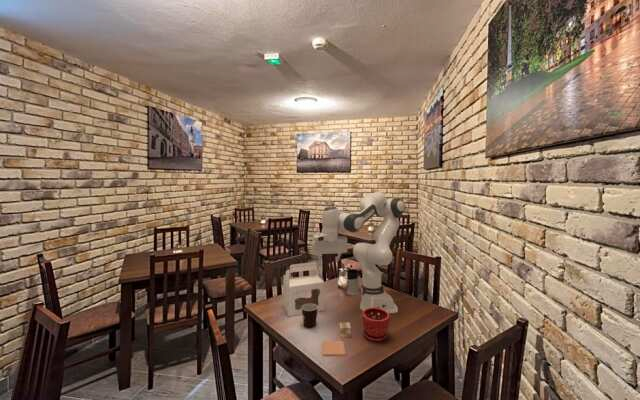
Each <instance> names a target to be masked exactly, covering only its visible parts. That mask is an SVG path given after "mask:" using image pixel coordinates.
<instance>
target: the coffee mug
mask: <svg viewBox="0 0 640 400" xmlns="http://www.w3.org/2000/svg"><path fill="white" fill-rule="evenodd" d="M317 309H318V306H317V305H315V304H305V305H303V306H302V314H301V315H302V320H303V321H302V322H303V327H304V328H305V329H313V328H315V327H316V324H317V316H318V312H317Z"/></svg>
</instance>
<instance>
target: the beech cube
mask: <svg viewBox="0 0 640 400" xmlns="http://www.w3.org/2000/svg"><path fill="white" fill-rule="evenodd" d="M351 330H352V329H351V325H350V322H339V337H340V338H341V339H342V338H351Z"/></svg>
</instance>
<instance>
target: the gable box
mask: <svg viewBox="0 0 640 400" xmlns="http://www.w3.org/2000/svg"><path fill="white" fill-rule="evenodd" d="M321 269H322V268H321V266H318V264H317V262H316V261H312V262H311V261H310V262H302V263H301V262H300V263H294V264H290V265H289V269H287V270H285V275H284V277H283V280H282V281H283V284H282V285H283V288H282V289H283V308H284V310H285V311H286V313H287V316H288V317H294V316H299V315H302V306H303V305H305V304H315V305H317V306H318V309H317V313H318V312H323V311H325V280H324V278H323V275H322V271H321ZM306 271H315V274H313V275H305V276H298V277H297V276H296V277H292V276H291V274H292V273H298V272H306ZM299 291H300V292H301V291H304V292H305V291H306V292H307V291H310V292H311V296H310V297H298V298H296V299H295V298H294V294H295V293H296V292H299Z"/></svg>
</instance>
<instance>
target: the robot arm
mask: <svg viewBox="0 0 640 400" xmlns="http://www.w3.org/2000/svg"><path fill="white" fill-rule="evenodd" d="M358 207H359V210H360V212H358V213H351V212H350V213H349V212H345V211H342V210H340V209H338V207H337V206H326V207H325V208H324V209H323V211H322V216H321V217H322V218H321V224H322V228H321V232H318V233H315V234H313V235H312V236H313V237H312V238H313V239H312V241H311V244H310V245H311V246H310V253H311V254H313V255H316V256H317V257H318V262H319V263H322V262H323V258H322V257H321V256H322V255H327V254H331V255H332V254H337V256H336V257H335V259H334V260H335V262H339V261H340V257H341V256H342V254H346V253H347V252H348V237H346V236H345V235H339V230H344V231H347V232H350V233H357V232H359V230H360V229H362V227H363V225H364V224H365V223H367V222H368V221H369V220H370V219H372V217H374V215H375V216H376V217H379V218H383V220H382V221H381V223H380V224H379V226H378V227H377V229H376V230H375V231H374V233H373V240H374V241H375V243H373V244H372V243H368V242H357V243H355V245H353V249H352V254H353V256H354V258H355V259H356V260H357V262H358V263H359V266H360V269H361V274H362V277H361V278H362V280H361V281H362V284H361V298H360V299H361V300H360V305H359V309H360V310H361V311H362V312H363V311H364V310H365V309H367V308H380V309H383V310H385V311H387V312H388V314H389V315H390V314H396V313H398V312H399V309H398V305H397V304H396V303H395V302H394V299H393V297H392V296H391V295H390V294H389V293H388V292H387V288H386V287H385V286H384V285H383V284H382V273H381V270H380V269H379V268H378V267H377V266H376V265H378V266H388V265H390V263H392V261H393V259H394V258H393V252H392V250H391V248H390V245H391V242H392V240H393V238H394V237H395V235H396V234H397V231H398V229H399V227H400V220H399V219H400V218H401V217H403V214H404V212H405V208H406V205H405V202H404V200H403V199H402V198H399V197H395V198H387V197H386V194H384V192H382V191H375V192H371V193H370V194H368V195H365V196H363V197H362V198H361V199H360V200H359V204H358ZM338 229H339V230H338ZM371 314H372V312H371ZM378 315H380V314H379V313H378Z"/></svg>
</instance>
